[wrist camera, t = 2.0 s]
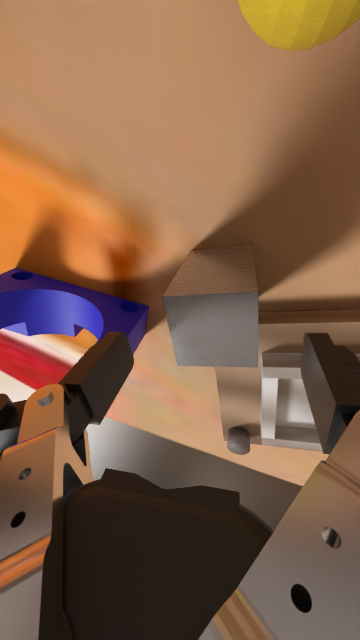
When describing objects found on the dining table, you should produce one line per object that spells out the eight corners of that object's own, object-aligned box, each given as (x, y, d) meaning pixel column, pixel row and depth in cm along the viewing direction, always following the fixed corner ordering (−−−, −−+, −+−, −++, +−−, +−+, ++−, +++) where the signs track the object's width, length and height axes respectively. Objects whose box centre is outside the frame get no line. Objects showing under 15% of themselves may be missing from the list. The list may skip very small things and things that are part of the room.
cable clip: (26, 310, 23) (-34, 349, 18) (17, 267, 20) (-56, 298, 15) (143, 345, 22) (115, 397, 17) (149, 305, 19) (117, 351, 14)
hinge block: (190, 250, 16) (161, 296, 10) (252, 243, 15) (258, 291, 9) (198, 302, 18) (177, 365, 12) (253, 299, 17) (258, 367, 11)
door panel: (212, 313, 18) (207, 337, 16) (484, 304, 14) (539, 335, 11) (225, 426, 25) (223, 455, 23) (408, 443, 21) (431, 482, 18)
